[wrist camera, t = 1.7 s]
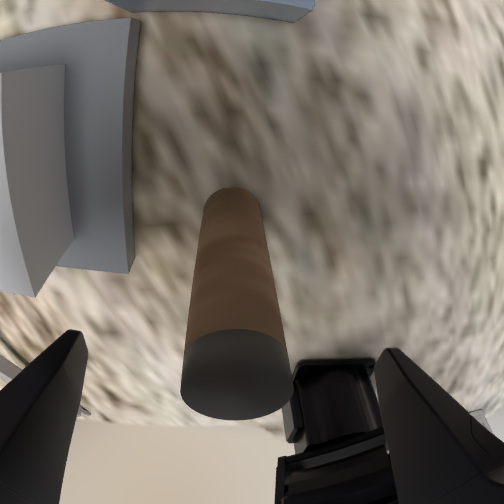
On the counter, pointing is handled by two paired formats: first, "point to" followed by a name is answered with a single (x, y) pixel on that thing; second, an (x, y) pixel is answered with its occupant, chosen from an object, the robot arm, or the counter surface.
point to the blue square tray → (225, 7)
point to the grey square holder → (66, 151)
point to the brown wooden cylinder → (234, 317)
